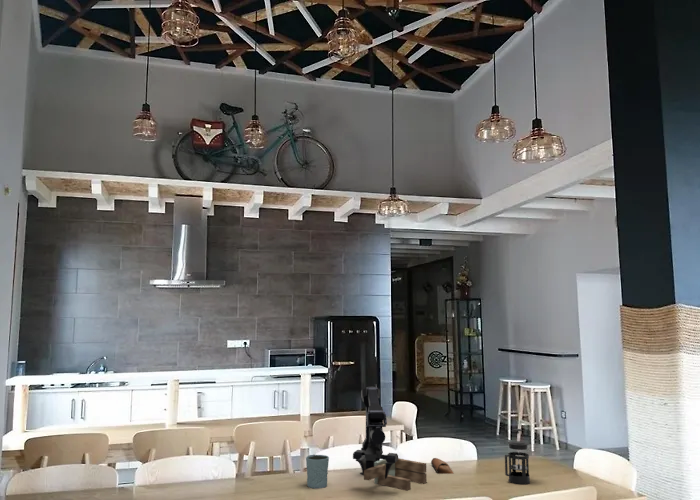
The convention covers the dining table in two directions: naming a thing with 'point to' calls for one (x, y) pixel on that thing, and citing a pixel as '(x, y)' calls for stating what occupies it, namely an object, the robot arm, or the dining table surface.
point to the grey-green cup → (317, 470)
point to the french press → (514, 476)
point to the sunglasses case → (441, 466)
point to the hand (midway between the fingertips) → (375, 477)
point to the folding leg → (374, 472)
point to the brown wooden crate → (402, 474)
